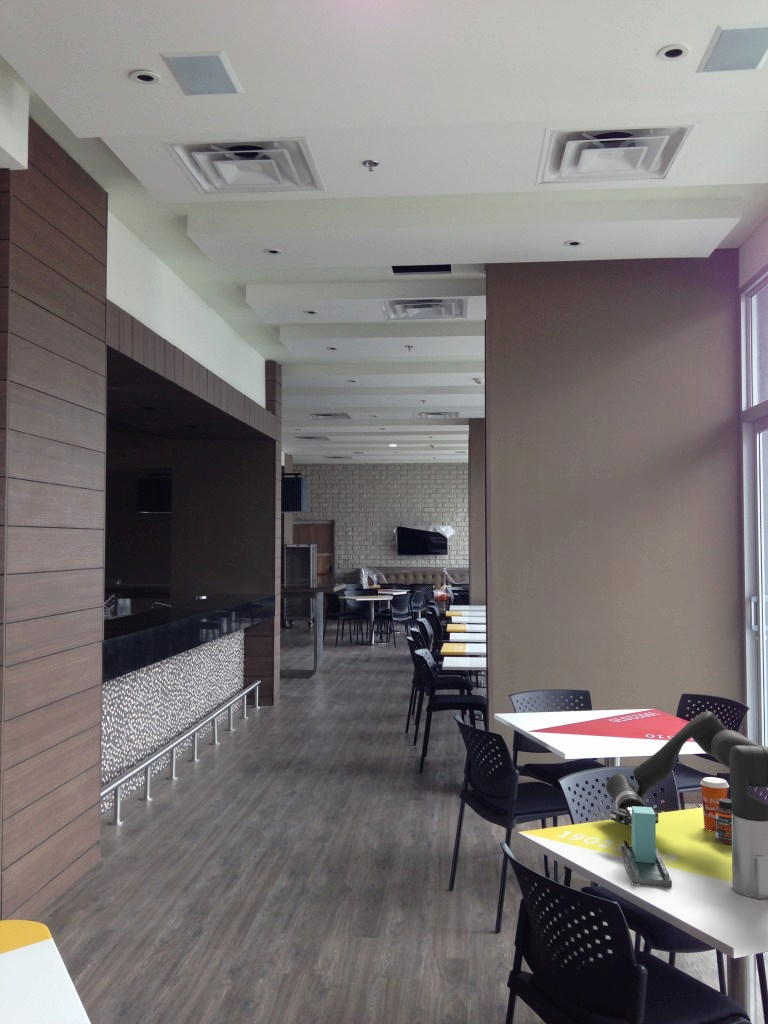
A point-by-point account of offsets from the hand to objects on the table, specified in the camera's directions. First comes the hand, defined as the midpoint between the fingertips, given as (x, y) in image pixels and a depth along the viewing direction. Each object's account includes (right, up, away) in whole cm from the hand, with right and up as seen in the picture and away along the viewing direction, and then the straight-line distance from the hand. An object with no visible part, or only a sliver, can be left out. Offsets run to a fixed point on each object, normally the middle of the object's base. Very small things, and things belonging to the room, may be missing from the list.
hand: (638, 826), depth 212 cm
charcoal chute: (-1, -8, -7) cm, 11 cm away
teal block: (0, -6, -5) cm, 8 cm away
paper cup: (+30, -11, +26) cm, 41 cm away
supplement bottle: (+29, -10, +15) cm, 34 cm away
